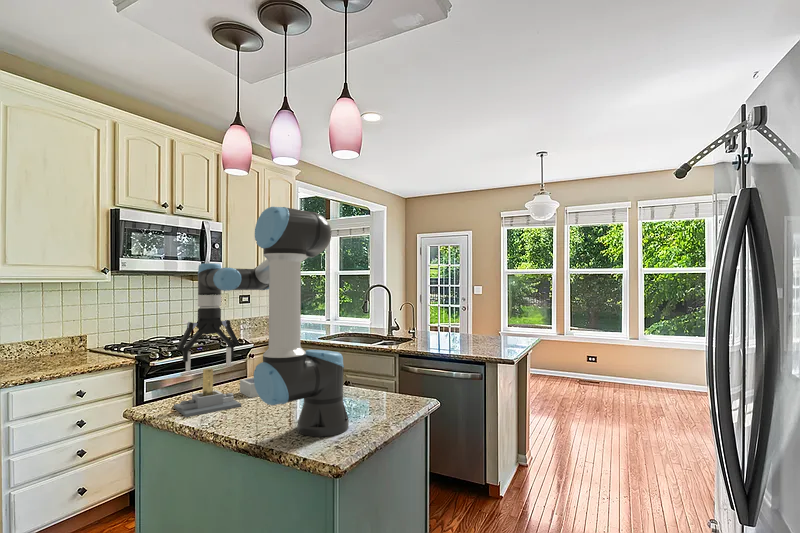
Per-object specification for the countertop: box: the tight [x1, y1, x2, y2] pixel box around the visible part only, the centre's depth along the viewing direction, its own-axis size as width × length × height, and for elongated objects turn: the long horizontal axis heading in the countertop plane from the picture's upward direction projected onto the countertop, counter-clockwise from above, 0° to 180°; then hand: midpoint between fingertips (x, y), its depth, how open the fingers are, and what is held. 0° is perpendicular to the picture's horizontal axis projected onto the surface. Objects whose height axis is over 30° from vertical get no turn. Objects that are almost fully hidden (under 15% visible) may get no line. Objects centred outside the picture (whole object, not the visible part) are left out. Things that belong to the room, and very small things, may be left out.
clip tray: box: [239, 377, 259, 398], centre depth 171 cm, size 10×18×5 cm, turn 132°
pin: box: [202, 368, 214, 396], centre depth 150 cm, size 3×3×12 cm
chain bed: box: [173, 389, 242, 418], centre depth 150 cm, size 14×18×4 cm
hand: (208, 368), depth 150 cm, fingers open, 13 cm apart
